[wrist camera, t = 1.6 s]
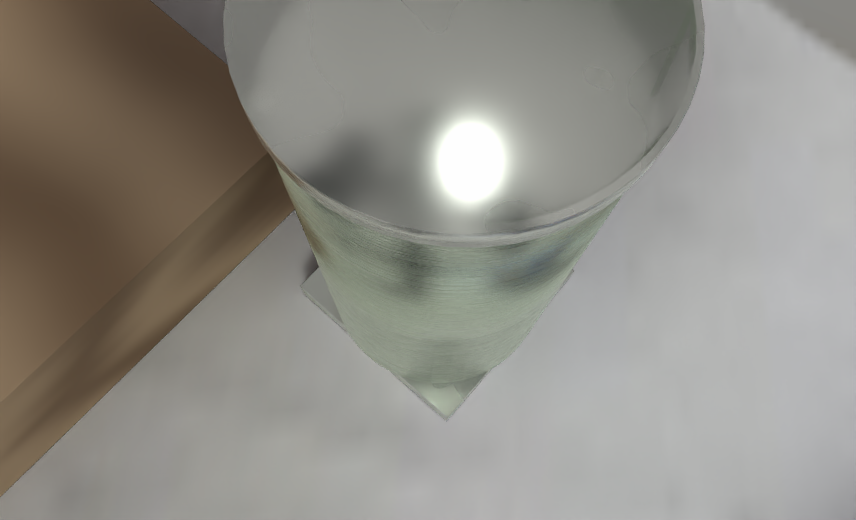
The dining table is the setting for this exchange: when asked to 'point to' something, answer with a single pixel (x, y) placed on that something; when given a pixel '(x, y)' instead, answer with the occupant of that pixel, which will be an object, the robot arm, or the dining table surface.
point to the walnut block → (111, 202)
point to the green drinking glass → (457, 155)
